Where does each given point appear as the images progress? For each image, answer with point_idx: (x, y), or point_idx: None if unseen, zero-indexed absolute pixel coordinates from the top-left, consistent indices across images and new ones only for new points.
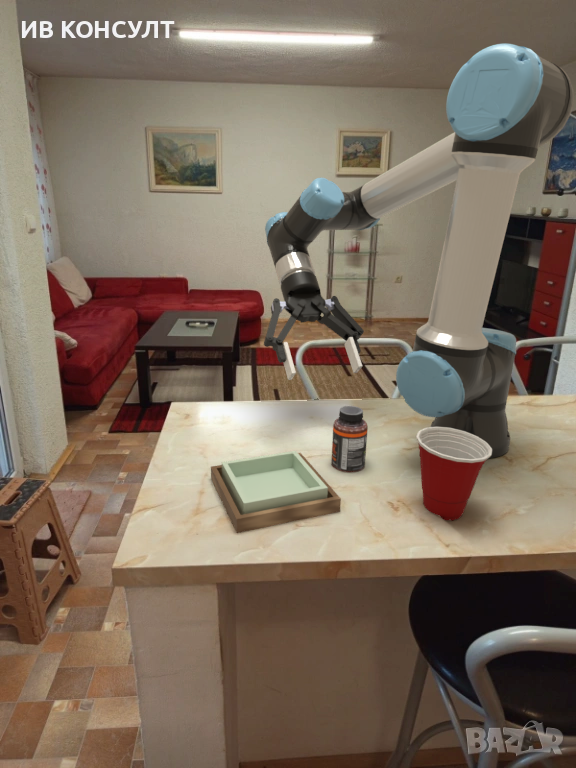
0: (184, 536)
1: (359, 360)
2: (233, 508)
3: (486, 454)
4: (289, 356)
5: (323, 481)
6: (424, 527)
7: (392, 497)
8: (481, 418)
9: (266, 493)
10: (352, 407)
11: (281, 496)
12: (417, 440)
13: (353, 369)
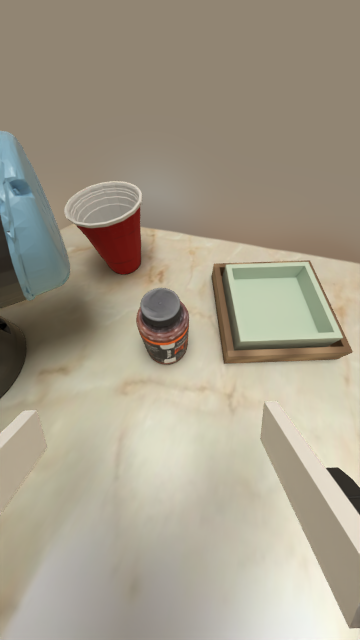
0: (344, 283)
1: (9, 429)
2: (313, 272)
3: (85, 196)
4: (308, 457)
5: (220, 290)
6: (154, 251)
7: (153, 286)
8: None
9: (277, 302)
10: (153, 310)
11: (272, 263)
12: (136, 209)
13: (39, 451)
